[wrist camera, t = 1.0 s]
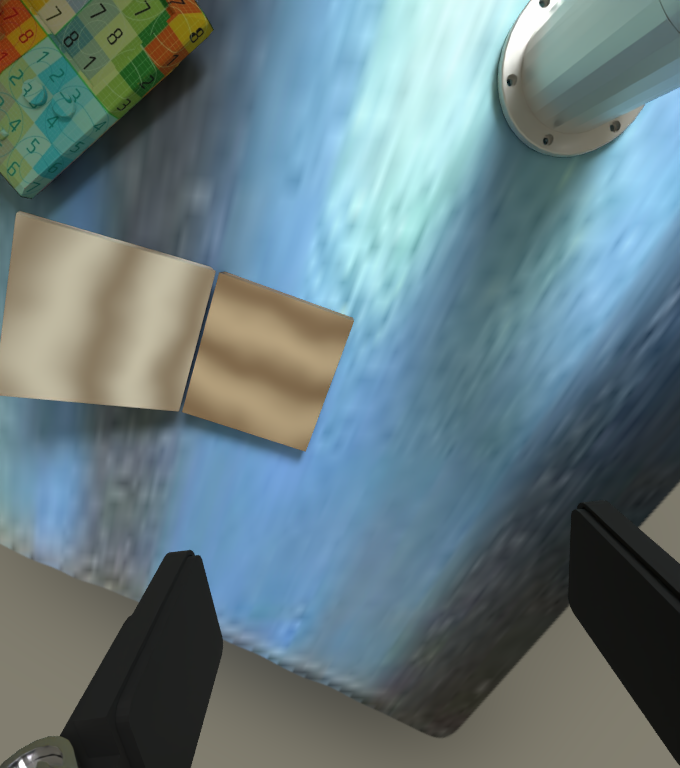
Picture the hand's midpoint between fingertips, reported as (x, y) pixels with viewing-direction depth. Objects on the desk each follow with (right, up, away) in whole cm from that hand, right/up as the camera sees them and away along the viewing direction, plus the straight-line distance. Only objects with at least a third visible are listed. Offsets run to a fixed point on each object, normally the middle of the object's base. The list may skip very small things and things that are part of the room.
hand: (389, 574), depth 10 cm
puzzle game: (-22, +31, +24) cm, 45 cm away
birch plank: (-21, +10, +26) cm, 35 cm away
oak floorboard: (-8, +7, +31) cm, 33 cm away
